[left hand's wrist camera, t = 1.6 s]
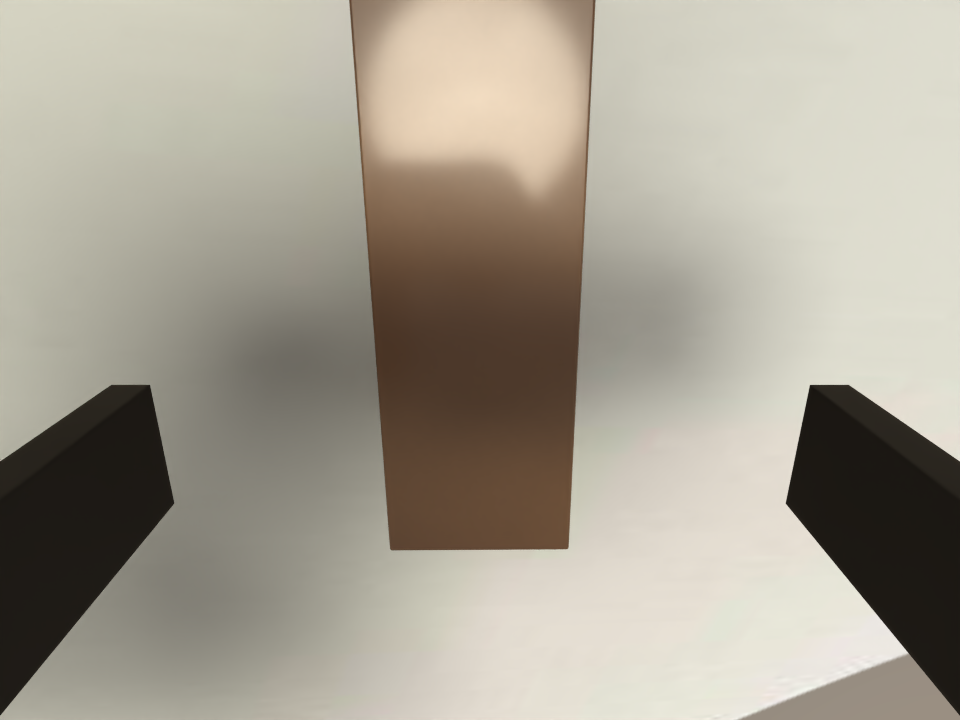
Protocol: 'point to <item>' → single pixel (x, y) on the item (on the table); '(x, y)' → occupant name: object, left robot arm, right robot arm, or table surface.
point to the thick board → (475, 260)
